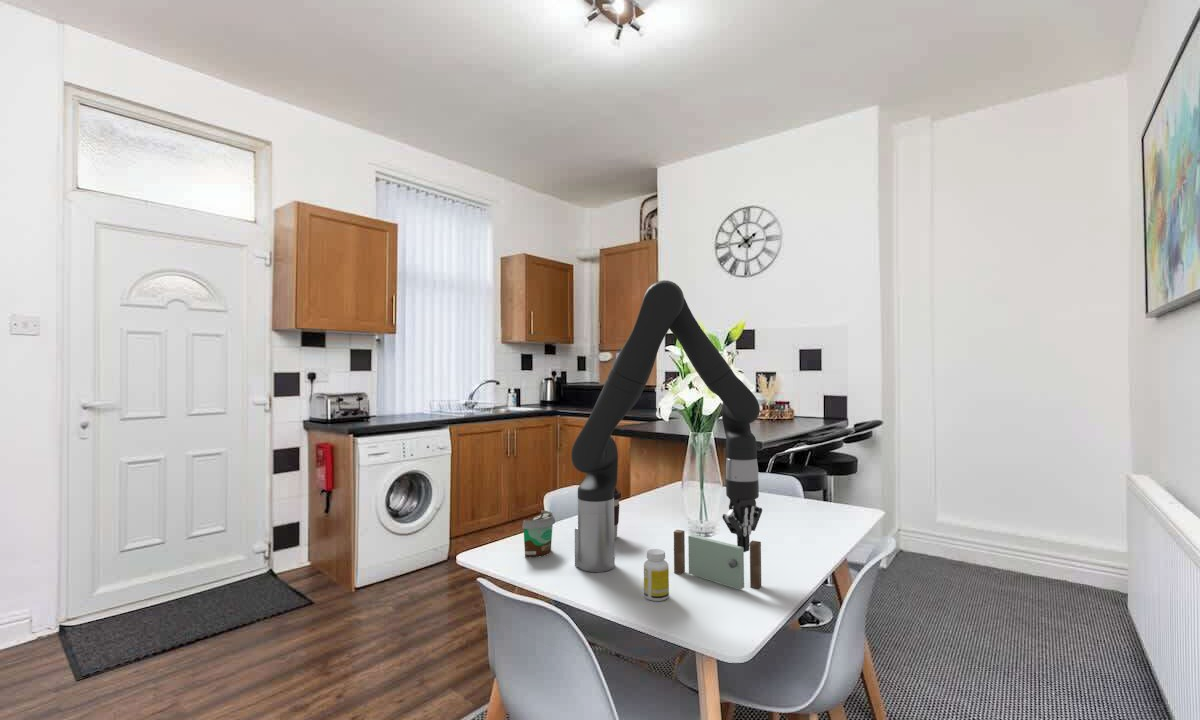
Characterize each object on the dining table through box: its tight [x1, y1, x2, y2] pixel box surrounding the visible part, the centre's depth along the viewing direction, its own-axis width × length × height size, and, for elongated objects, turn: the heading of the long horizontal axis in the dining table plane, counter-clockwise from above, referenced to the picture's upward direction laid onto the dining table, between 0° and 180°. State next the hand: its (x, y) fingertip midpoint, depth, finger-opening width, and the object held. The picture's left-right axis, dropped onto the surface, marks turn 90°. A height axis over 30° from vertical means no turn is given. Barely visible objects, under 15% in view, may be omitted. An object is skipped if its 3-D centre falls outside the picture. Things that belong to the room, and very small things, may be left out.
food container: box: [522, 509, 556, 558], centre depth 150 cm, size 12×6×10 cm, turn 161°
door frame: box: [673, 529, 762, 590], centre depth 130 cm, size 20×2×10 cm, turn 60°
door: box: [687, 534, 745, 590], centre depth 128 cm, size 14×3×9 cm, turn 45°
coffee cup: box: [614, 487, 622, 540], centre depth 164 cm, size 10×10×15 cm
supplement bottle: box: [643, 548, 670, 602], centre depth 120 cm, size 5×5×10 cm
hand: (743, 550), depth 131 cm, fingers closed
